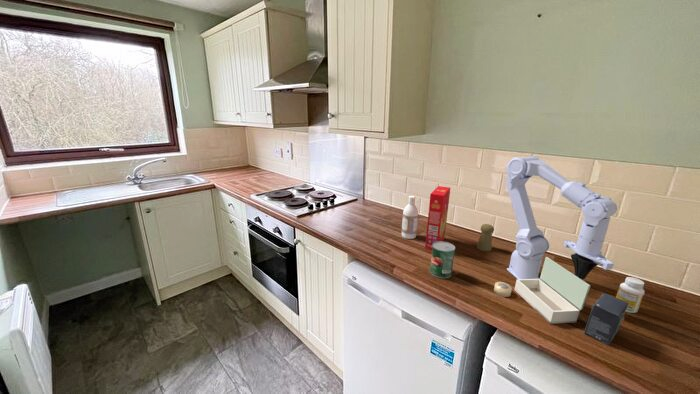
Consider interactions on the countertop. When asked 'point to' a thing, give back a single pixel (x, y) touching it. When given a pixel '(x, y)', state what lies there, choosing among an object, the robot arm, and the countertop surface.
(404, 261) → the countertop surface
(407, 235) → the bath foam
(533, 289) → the keepsake box
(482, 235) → the olive pepper mill
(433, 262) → the canned tomato
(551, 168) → the robot arm
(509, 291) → the cream domed disc
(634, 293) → the supplement bottle
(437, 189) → the food packaging
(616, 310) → the box
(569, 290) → the lid
